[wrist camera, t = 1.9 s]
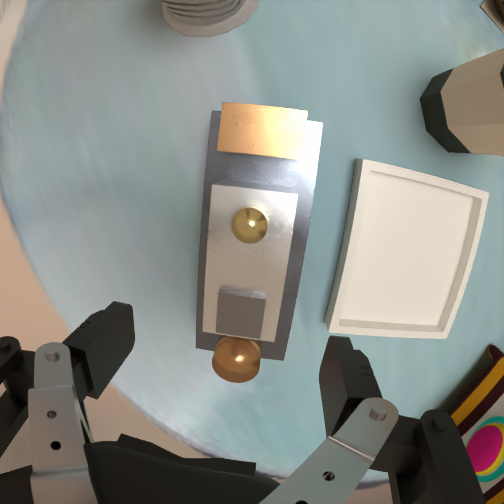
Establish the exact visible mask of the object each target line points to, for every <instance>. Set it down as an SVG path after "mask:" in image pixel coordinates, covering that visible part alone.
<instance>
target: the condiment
mask: <svg viewBox="0 0 504 504" xmlns="http://www.w3.org/2000/svg"><path fill="white" fill-rule="evenodd" d="M481 7H482V8H483V9H484V10H485V12H486V13H487V14H488V15H489V17H490V18H491V19H492V20H493V21H494V22H495V24H496V25H497V26H498V27H499V28H500V29H501V31H502V32H503V34H504V0H484V2H483V3H482V5H481Z"/></svg>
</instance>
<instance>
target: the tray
mask: <svg viewBox="0 0 504 504" xmlns="http://www.w3.org/2000/svg"><path fill="white" fill-rule="evenodd" d="M488 196H489V193H488V192H485V191H482V190H479V189H476V188H473V187H469V186H466V185H463V184H460V183H457V182H453V181H450V180H447V179H443V178H440V177H436V176H432V175H429V174H425V173H421V172H417V171H414V170H410V169H406V168H401V167H397V166H393V165H389V164H384V163H380V162H375V161H370V160H366V159H356V160H355V168H354V175H353V181H352V188H351V194H350V201H349V207H348V212H347V218H346V224H345V229H344V235H343V240H342V245H341V250H340V255H339V260H338V265H337V269H336V274H335V279H334V283H333V288H332V292H331V296H330V301H329V305H328V309H327V313H326V317H325V321H326V325H327V329H328V332H331V333H343V334H355V335H369V336H385V337H405V338H434V339H446V338H447V336H448V333H449V331H450V328H451V326H452V323H453V321H454V318H455V316H456V313H457V311H458V308H459V305H460V302H461V300H462V297H463V294H464V291H465V288H466V285H467V282H468V279H469V275H470V272H471V269H472V265H473V262H474V258H475V255H476V251H477V247H478V243H479V239H480V235H481V231H482V227H483V222H484V217H485V212H486V207H487V202H488Z"/></svg>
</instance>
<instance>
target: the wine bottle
mask: <svg viewBox="0 0 504 504" xmlns="http://www.w3.org/2000/svg"><path fill="white" fill-rule="evenodd" d="M420 101H421V105H422V110H423V115H424V120H425V125H426V130H427V132H429V133H430V134H431V135H432V136H433V137H434V138H435V139H436V140H437V141H438V142H439V143H440V144H441V145H442V146H443V147H444V148H445V149H446V150H447V151H448V152H455V153H474V154H489V155H501V156H504V48H503V49H501V50H498V51H495V52H493V53H490V54H487V55H485V56H482V57H480V58H477V59H475V60H472V61H470V62H467V63H465V64H462V65H460V66H458V67H455V68H453V69H451V70H448V71H446V72H444V73H441V74H439V75H437V76H434V77H433V78H432V80H431V82H430V83H429V85H428V86H427V88H426V90H425V91H424V93H423V95H422V96H421V98H420Z"/></svg>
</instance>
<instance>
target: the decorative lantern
mask: <svg viewBox="0 0 504 504" xmlns="http://www.w3.org/2000/svg"><path fill="white" fill-rule="evenodd" d="M488 353H489V355H490V356H491V359H492V363H491V365H490V367H489V368H488V369H487V371H486V372H485V373H484V374H483V376H482V377H481V378H480V379H479V380H478V382H477V383H476V384H475V385H474V386H473V387H472V389H471V390H470V391H469V392H468V393H467V394H466V395H465V396H464V398H463V399H462V400H461V401H460V402H459V403H458V404H457V405H456V406H455V407H454V408H453V409H452V410H451V411H450V412H449V413H448V415H450V416H451V417H452V418H453V420H454V422H455V424H456V426H457V428H458V431H459V433H460V435H461V438H462V440H463V442H464V445H465V447H466V450H467V452H468V455H469V457H470V460H471V462H472V465H473V467H474V470H475V473H476V475H477V478H478V481H479V484H480V487H481V490H482V492H483V495H484V498H485V502H486V504H504V354H503V353H502V352H501V351H500V350H499V349H498V348H497V347H496V346H494V345H490V346H489V347H488Z"/></svg>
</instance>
